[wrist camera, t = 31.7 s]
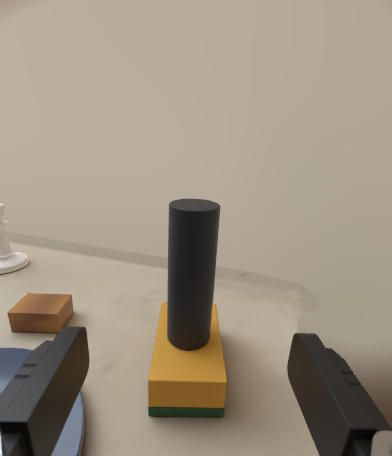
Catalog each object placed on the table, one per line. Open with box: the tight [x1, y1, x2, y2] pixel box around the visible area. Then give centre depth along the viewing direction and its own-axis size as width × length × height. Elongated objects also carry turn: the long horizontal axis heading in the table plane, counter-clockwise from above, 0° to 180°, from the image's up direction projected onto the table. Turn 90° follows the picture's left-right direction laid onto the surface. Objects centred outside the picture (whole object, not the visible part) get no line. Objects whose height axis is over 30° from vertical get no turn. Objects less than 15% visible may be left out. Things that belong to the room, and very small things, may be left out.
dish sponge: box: [148, 199, 227, 417], centre depth 19 cm, size 8×5×13 cm, turn 1°
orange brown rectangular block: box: [8, 293, 73, 333], centre depth 25 cm, size 4×3×2 cm
